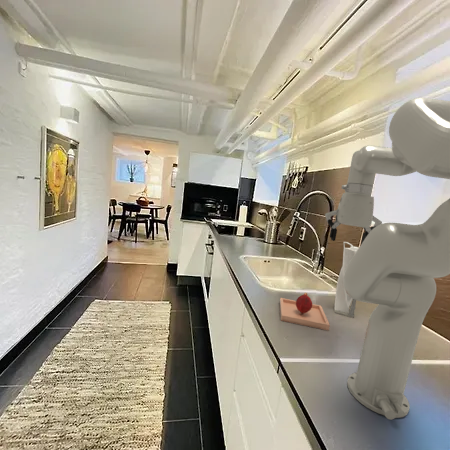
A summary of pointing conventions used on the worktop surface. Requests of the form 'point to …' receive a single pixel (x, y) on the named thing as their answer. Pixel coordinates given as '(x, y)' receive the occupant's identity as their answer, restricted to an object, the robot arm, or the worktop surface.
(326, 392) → the worktop surface
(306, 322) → the dish
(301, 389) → the worktop surface
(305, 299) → the red round fruit
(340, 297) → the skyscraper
